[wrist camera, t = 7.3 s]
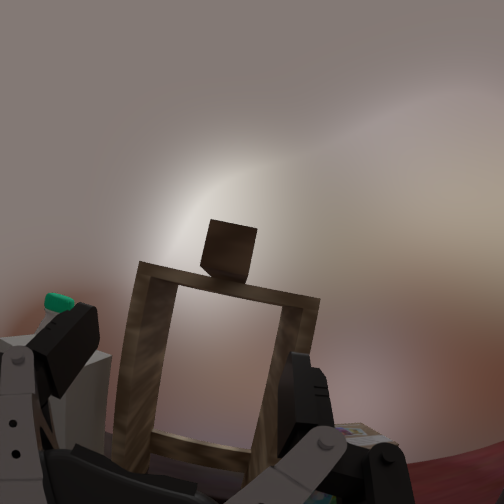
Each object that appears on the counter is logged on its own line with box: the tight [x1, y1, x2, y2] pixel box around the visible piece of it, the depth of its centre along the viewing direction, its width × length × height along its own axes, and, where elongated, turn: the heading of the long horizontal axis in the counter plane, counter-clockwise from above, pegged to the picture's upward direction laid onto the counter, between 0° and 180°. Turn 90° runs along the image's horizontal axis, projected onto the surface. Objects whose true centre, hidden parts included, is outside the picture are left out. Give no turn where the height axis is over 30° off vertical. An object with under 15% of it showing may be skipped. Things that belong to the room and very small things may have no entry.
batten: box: [200, 219, 257, 284], centre depth 31 cm, size 3×22×3 cm, turn 2°
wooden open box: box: [112, 261, 320, 490], centre depth 33 cm, size 18×14×32 cm
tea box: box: [303, 423, 399, 504], centre depth 32 cm, size 15×10×15 cm
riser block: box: [0, 334, 112, 455], centre depth 20 cm, size 8×9×22 cm
